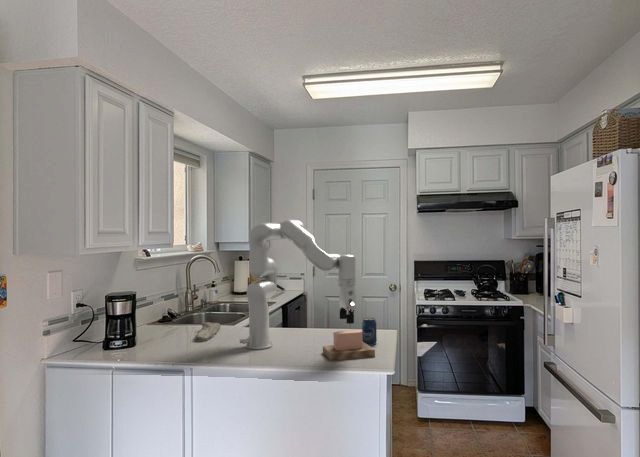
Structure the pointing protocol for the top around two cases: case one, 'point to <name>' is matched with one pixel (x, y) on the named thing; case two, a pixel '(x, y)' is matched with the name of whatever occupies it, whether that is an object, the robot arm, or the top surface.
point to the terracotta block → (348, 340)
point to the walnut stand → (348, 352)
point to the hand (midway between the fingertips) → (346, 321)
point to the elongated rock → (207, 331)
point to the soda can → (369, 331)
